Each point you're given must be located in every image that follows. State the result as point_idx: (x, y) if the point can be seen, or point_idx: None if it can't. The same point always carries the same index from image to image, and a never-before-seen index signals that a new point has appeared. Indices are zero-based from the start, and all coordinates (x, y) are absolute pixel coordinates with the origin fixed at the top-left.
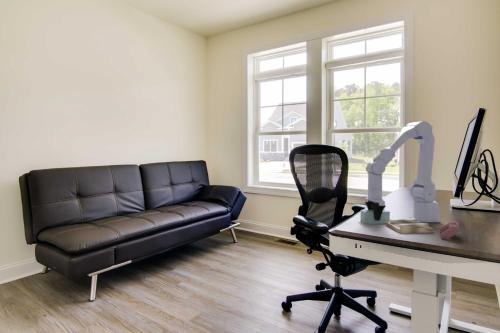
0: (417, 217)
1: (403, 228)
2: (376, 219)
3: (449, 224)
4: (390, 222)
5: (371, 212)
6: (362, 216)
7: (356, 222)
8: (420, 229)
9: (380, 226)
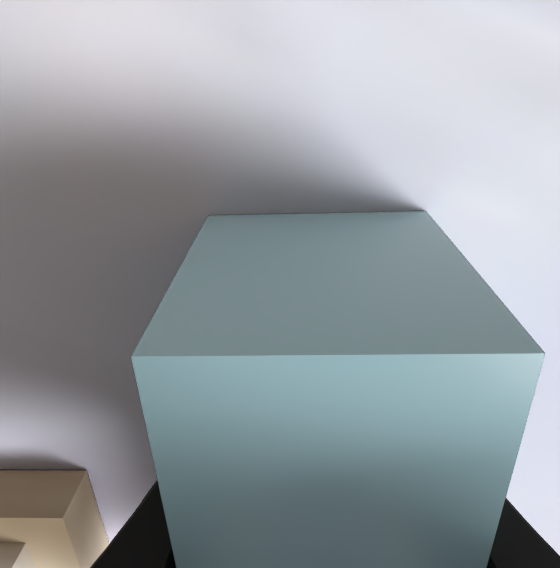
0: None
1: None
2: None
3: None
4: (6, 553)
5: (172, 523)
6: (328, 265)
7: (321, 72)
8: None
9: (34, 392)
